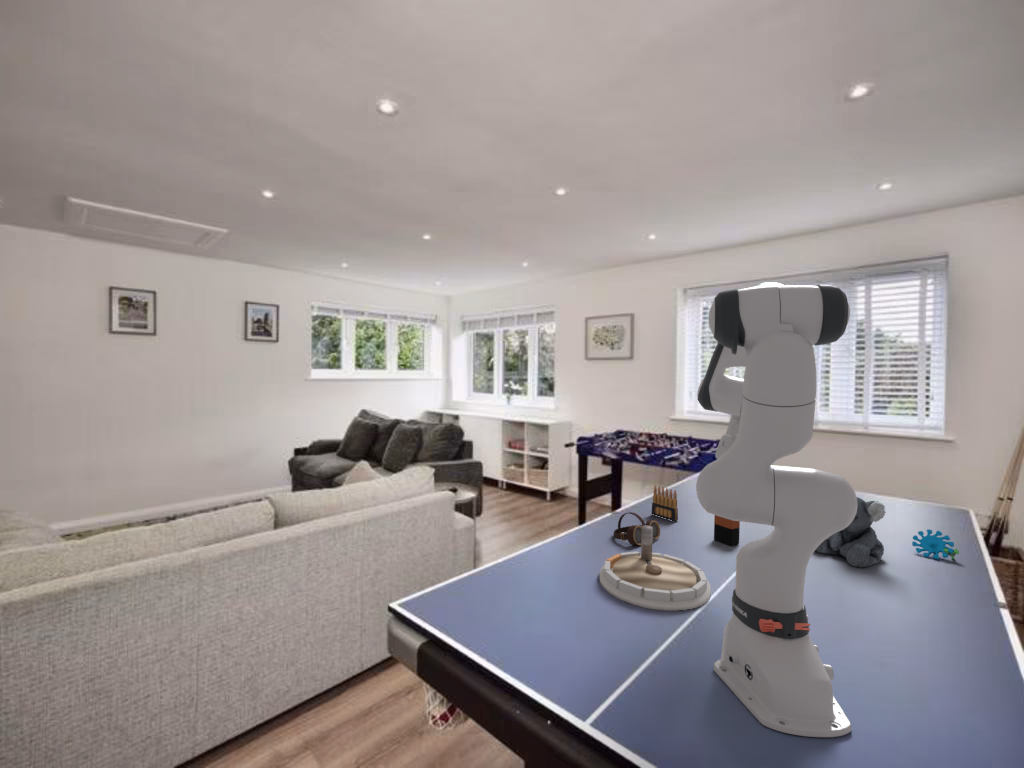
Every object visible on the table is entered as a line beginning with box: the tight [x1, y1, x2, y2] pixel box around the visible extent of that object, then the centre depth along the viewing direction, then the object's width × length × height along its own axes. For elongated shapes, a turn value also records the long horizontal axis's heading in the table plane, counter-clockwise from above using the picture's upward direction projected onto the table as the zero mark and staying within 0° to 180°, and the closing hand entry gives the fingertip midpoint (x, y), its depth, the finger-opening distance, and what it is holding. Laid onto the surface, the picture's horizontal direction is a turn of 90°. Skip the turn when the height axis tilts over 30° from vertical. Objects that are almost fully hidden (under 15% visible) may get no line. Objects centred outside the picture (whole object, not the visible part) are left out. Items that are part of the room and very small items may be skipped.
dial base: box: [599, 550, 712, 612], centre depth 124 cm, size 28×28×4 cm
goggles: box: [613, 511, 661, 546], centre depth 158 cm, size 15×13×10 cm
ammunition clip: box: [651, 485, 679, 522], centre depth 181 cm, size 11×2×12 cm, turn 37°
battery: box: [713, 515, 741, 547], centre depth 156 cm, size 4×7×10 cm, turn 29°
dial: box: [613, 524, 696, 593], centre depth 124 cm, size 21×21×10 cm
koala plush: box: [814, 496, 887, 569], centre depth 146 cm, size 17×18×20 cm
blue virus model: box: [911, 529, 960, 560], centre depth 147 cm, size 11×6×10 cm
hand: (730, 482), depth 126 cm, fingers closed
